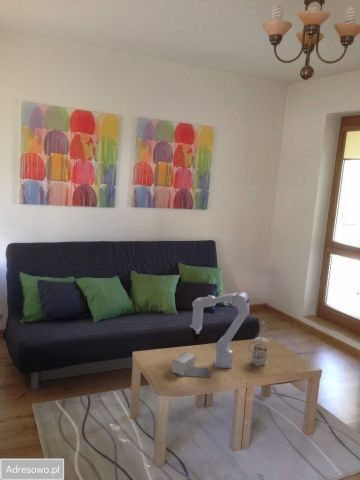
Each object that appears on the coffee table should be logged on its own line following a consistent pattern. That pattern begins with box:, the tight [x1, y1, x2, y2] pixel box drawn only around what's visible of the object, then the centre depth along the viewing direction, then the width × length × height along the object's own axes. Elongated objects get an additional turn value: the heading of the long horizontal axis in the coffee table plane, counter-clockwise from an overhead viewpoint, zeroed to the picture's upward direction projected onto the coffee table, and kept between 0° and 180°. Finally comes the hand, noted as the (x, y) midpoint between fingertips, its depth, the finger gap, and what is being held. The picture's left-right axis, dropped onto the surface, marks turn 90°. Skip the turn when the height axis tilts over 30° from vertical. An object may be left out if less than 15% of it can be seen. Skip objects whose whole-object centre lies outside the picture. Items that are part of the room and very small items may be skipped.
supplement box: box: [171, 351, 196, 377], centre depth 228 cm, size 7×7×13 cm
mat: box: [175, 366, 211, 379], centre depth 227 cm, size 18×11×1 cm, turn 92°
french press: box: [248, 321, 269, 367], centre depth 244 cm, size 10×12×25 cm
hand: (195, 341), depth 243 cm, fingers closed
